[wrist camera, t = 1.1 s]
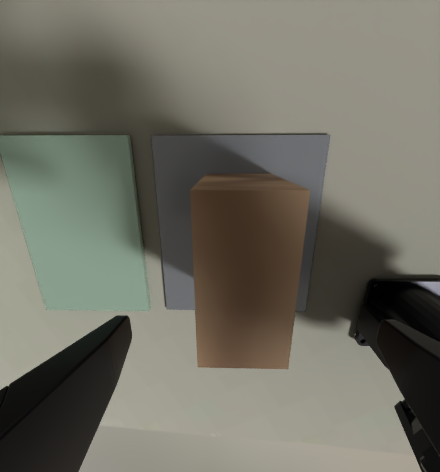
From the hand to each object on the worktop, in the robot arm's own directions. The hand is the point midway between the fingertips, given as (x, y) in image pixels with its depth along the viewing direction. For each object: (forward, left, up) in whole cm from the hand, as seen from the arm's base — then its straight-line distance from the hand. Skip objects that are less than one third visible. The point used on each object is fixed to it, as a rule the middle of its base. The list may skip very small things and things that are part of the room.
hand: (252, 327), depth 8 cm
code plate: (0, 0, -10) cm, 10 cm away
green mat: (+12, 0, -10) cm, 16 cm away
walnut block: (0, 0, -10) cm, 10 cm away
